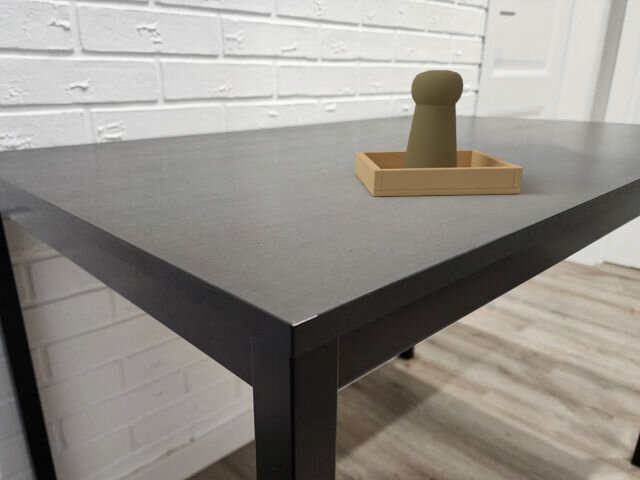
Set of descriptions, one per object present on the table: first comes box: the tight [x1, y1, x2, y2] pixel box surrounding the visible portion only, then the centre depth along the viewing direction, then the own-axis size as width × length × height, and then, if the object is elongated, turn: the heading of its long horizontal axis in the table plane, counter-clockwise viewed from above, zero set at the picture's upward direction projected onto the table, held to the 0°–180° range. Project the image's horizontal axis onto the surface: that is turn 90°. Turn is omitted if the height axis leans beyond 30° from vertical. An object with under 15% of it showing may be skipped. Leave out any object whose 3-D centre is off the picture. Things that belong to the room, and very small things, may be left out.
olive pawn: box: [403, 69, 464, 169], centre depth 55 cm, size 6×6×11 cm
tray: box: [354, 148, 524, 197], centre depth 56 cm, size 15×13×3 cm
